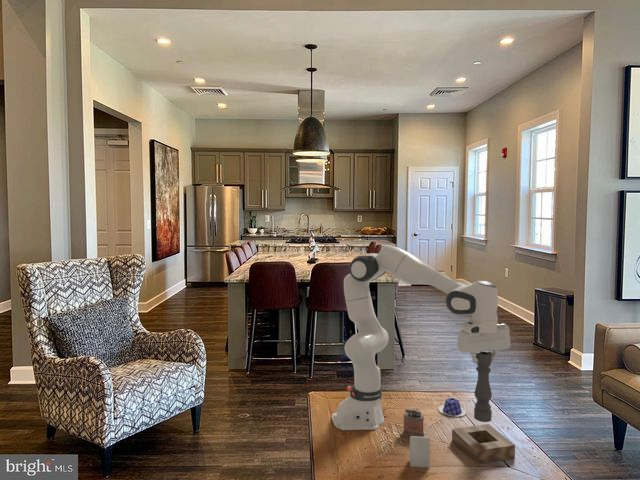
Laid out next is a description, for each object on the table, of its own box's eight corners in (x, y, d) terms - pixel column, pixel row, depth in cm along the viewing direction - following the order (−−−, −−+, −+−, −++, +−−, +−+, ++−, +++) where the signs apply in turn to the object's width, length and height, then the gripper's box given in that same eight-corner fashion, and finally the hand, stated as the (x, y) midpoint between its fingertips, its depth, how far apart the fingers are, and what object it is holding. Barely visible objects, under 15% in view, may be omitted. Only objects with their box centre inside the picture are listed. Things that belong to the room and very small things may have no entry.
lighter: (424, 433, 179) (424, 409, 178) (423, 437, 175) (423, 413, 175) (404, 430, 181) (404, 406, 180) (402, 434, 178) (402, 410, 177)
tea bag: (429, 467, 155) (429, 440, 154) (410, 466, 156) (410, 439, 155) (428, 461, 159) (428, 435, 158) (409, 460, 160) (409, 433, 159)
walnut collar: (475, 464, 157) (475, 450, 156) (452, 441, 172) (452, 428, 172) (514, 458, 160) (515, 445, 160) (488, 436, 176) (488, 423, 175)
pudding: (446, 403, 206) (446, 392, 206) (471, 411, 198) (471, 399, 197) (433, 412, 197) (433, 400, 197) (458, 421, 189) (458, 409, 189)
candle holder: (493, 422, 162) (494, 356, 160) (475, 421, 163) (476, 355, 161) (490, 414, 168) (491, 350, 166) (472, 413, 169) (473, 349, 167)
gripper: (504, 321, 168) (503, 356, 169) (455, 324, 163) (454, 361, 165) (514, 325, 162) (513, 362, 163) (464, 329, 157) (463, 367, 158)
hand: (483, 361), depth 164 cm, fingers closed on candle holder, 5 cm apart
